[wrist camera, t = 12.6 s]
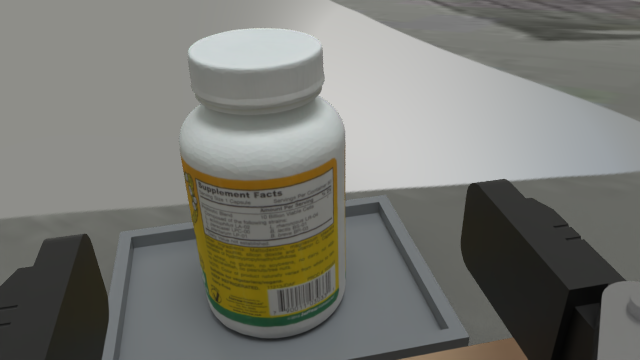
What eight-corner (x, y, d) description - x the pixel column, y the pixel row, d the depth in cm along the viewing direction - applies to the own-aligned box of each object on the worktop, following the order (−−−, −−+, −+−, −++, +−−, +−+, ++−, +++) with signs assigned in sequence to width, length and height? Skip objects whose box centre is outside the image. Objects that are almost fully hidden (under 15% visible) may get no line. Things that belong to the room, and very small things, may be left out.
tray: (384, 222, 26) (385, 194, 26) (464, 369, 19) (469, 336, 18) (128, 260, 24) (120, 231, 24) (101, 441, 17) (88, 408, 16)
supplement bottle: (318, 360, 18) (305, 87, 13) (178, 323, 20) (121, 67, 15) (363, 261, 22) (366, 27, 18) (245, 237, 24) (218, 16, 19)
